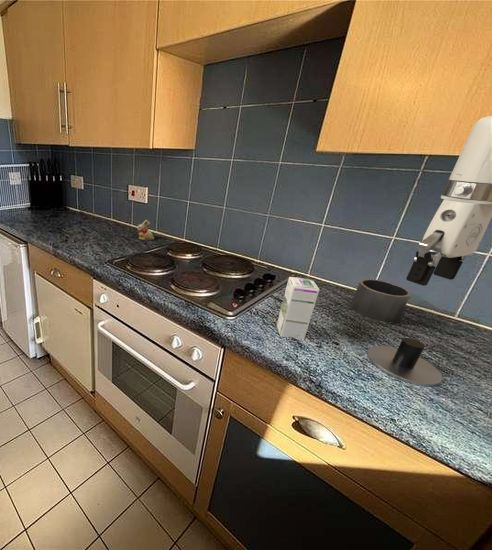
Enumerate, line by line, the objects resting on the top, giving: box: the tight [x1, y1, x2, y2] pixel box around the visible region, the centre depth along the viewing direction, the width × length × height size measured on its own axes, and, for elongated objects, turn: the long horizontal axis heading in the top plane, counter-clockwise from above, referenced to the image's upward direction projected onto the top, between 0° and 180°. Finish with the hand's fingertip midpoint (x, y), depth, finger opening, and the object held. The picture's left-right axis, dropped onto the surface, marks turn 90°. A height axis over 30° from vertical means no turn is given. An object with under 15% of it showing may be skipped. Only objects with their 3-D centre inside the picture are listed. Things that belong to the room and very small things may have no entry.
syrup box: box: [276, 276, 320, 340], centre depth 74 cm, size 6×6×14 cm
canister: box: [349, 278, 412, 324], centre depth 87 cm, size 11×11×8 cm
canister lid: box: [366, 337, 443, 387], centre depth 65 cm, size 13×13×7 cm
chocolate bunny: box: [136, 219, 155, 241], centre depth 148 cm, size 6×8×10 cm
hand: (429, 279), depth 61 cm, fingers open, 9 cm apart
